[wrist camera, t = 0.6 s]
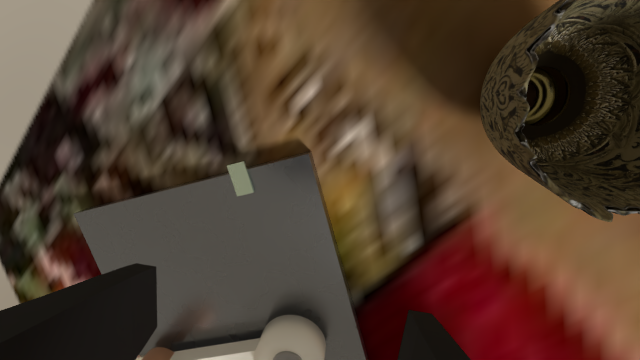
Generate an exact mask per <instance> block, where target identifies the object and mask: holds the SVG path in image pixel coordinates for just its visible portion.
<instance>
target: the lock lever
mask: <svg viewBox="0 0 640 360" xmlns="http://www.w3.org/2000/svg"><path fill="white" fill-rule="evenodd" d="M325 350H326V341H325V337H324V335H323V333H322V331H321V330H320V328H319V327H318V326H317V325H316V324H315V323H313V322H312V321H310V320H309V319H307V318H304V317H302V316H298V315H283V316H279V317H276V318H275V319H273V320H271V321H270V322H269V323H268V324H267V325H266V327H265V328H264V330H263V333H262V335H261V338H258V339H251V340H245V341H239V342H232V343H226V344H220V345H213V346H207V347H201V348H194V349H188V350H182V351H175V352H173V351H171V350H170V349H167V348H163V347H156V348H153V349H151V350H149V351H148V352H147V354H146V355H145V356H144V357H143V358H142V360H324V359H325Z"/></svg>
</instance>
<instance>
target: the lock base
mask: <svg viewBox="0 0 640 360" xmlns="http://www.w3.org/2000/svg"><path fill="white" fill-rule="evenodd" d="M227 168H228V171H229V172H227V173H223V174H219V175H216V176H212V177H208V178H204V179H200V180H196V181H192V182H188V183H184V184H180V185H177V186H173V187H169V188H165V189H161V190H157V191H153V192H149V193H145V194H141V195H138V196H134V197H130V198H126V199H122V200H118V201H114V202H110V203H106V204H102V205H99V206H95V207H91V208H87V209H85V210H82V211H79V212H77V213H74V216H75V218H76V220H77V222H78V224H79V226H80V228H81V231H82V233H83V235H84V237H85V239H86V241H87V243H88V246H89V248H90V250H91V252H92V254H93V256H94V259H95V261H96V263H97V265H98V267H99V269H100V271H101V274H105V273H107V272H110V271H113V270H116V269H119V268H122V267H125V266H128V265H132V264H135V263H138V264H144V265H150V266H156V274H157V328H156V330H155V331H154V333H153V334H152V336H151V337H150V339H149V340H148V342H147V344H146V345H145V347H144V348H143V350H142V351H141V352H140V354H139V355H140V356H138V357H137V358H136V360H142V358H143V357H144V356H145V355H146V354H147V352H148V351H149V350H151V349H153V348H156V347H163V348H167V349H170V350H171V351H173V352H175V351H182V350H188V349H194V348H201V347H207V346H213V345H220V344H226V343H232V342H239V341H245V340H251V339H258V338H261V335H262V333H263V330H264V328H265V327H266V325H267V324H268V323H269V322H270V321H271V320H273V319H275V318H276V317H279V316H283V315H298V316H302V317H304V318H307V319H309V320H310V321H312V322H313V323H315V324H316V325H317V326H318V327H319V328H320V330H321V331H322V333H323V335H324V337H325V341H326V350H325V359H324V360H369V359H368V355H367V352H366V348H365V344H364V341H363V337H362V334H361V330H360V326H359V323H358V319H357V316H356V312H355V308H354V305H353V301H352V298H351V294H350V290H349V287H348V283H347V279H346V276H345V272H344V269H343V265H342V261H341V258H340V254H339V251H338V247H337V243H336V240H335V236H334V233H333V229H332V225H331V222H330V218H329V214H328V211H327V207H326V204H325V200H324V196H323V193H322V189H321V186H320V182H319V178H318V175H317V171H316V167H315V164H314V160H313V157H312V153H311V151H309V152H305V153H301V154H297V155H294V156H290V157H286V158H282V159H278V160H274V161H270V162H266V163H262V164H258V165H255V166H251V167H247V166H246V163H245V161H242V162H238V163H234V164H230V165H227Z"/></svg>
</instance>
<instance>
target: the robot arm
mask: <svg viewBox="0 0 640 360" xmlns="http://www.w3.org/2000/svg"><path fill="white" fill-rule="evenodd" d="M156 328H157V274H156V266H150V265H144V264H138V263H135V264H132V265H128V266H125V267H122V268H119V269H116V270H113V271H110V272H107V273H105V274H102V275H99V276H96V277H94V278H91V279H88V280H85V281H83V282H80V283H77V284H75V285H72V286H69V287H66V288H64V289H61V290H58V291H56V292H53V293H50V294H47V295H45V296H42V297H39V298H36V299H33V300H30V301H28V302H25V303H22V304H19V305H16V306H13V307H10V308H7V309H4V310H1V311H0V360H136V358H137V357H138V355H139V354H140V352H141V351H142V350H143V348H144V347H145V345H146V344H147V342H148V340H149V339H150V337H151V336H152V334H153V333H154V331H155V330H156ZM398 360H470V358H469V357H468V356H467V355H466V354H465V353H464V351H463V350H462V349H461V348H460V347H459V345H458V344H457V343H456V342H455V341H454V339H453V338H452V337H451V336H450V335H449V333H448V332H447V331H446V330H445V329H444V328H443V326H442V325H441V324H440V323H439V322H438V320H437V319H436V318H435V317H434V316H433V315H432V314H430V313H424V312H418V311H412V310H409V311H408V315H407V320H406V324H405V329H404V333H403V338H402V342H401V347H400V351H399V356H398Z"/></svg>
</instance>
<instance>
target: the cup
mask: <svg viewBox="0 0 640 360" xmlns="http://www.w3.org/2000/svg"><path fill="white" fill-rule="evenodd" d="M529 82H531V83H532V84H534V85H535V87H536V89H537V92H538V97H537V101H536V103H535V105H534V106H533V107H532V108H531V109H530V107H529V104H528V102H527V101H526V92H527V88H528V83H529ZM529 109H530V110H529ZM480 112H481V119H482V124H483V126H484V129H485V132H486V134H487V136H488V138H489V139H490V141H491V142H492V144H493V145H494V147H495V148H496V149H497V151H498V152H499V153H500V154H501V155H502V156H503V157H504V158H505V159H506V160H508V161H509V162H510V163H511V164H512V165H513V166H515V167H516V168H517V169H519V170H520V171H522V172H523V173H525V174H526V175H528V176H529V177H530V178H532V179H533V180H535V181H536V182H538V183H539V184H541V185H542V186H544V187H545V188H547V189H548V190H550V191H551V192H553V193H554V194H556V195H558V196H559V197H560V198H562V199H563V200H564V201H566V202H567V203H569V204H570V205H572V206H574V207H576V208H578V209H581V210H583V211H584V212H586V213H587V214H589V215H591V216H592V217H595V218H597V219H600V220H603V221H607V222H612V219H613V214H612V213H616V214H620V215H624V216H625V215H628V214H630V213H638V214H640V0H559V1H558V2H556V3H555V4H554V5H552V6H551V7H549V8H548V9H547V10H545V11H544V12H543V13H541V14H540V15H538V16H537V17H536V18H534V19H533V20H532V21H531V22H529V23H528V24H527V25H526V26H524V27H523V28H522V29H521V30H520V31H519V32H518V33H517V34H516V35H514V36H513V37H512V38H511V39H510V41H509V42H508V43H507V44H506V45H505V46H504V47H503V49H502V50H501V51H500V52H499V54H498V55H497V56H496V58H495V59H494V61H493V63H492V64H491V66H490V68H489V70H488V72H487V74H486V77H485V80H484V83H483V87H482V91H481V98H480ZM611 212H612V213H611Z"/></svg>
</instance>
